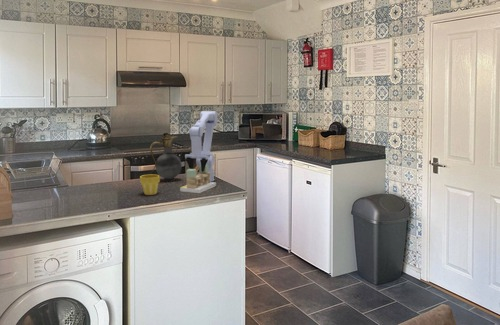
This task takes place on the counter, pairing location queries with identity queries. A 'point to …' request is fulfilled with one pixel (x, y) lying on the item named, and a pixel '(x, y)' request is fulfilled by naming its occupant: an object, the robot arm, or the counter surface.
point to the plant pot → (150, 183)
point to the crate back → (205, 169)
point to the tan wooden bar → (198, 180)
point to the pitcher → (167, 159)
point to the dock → (199, 189)
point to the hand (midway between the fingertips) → (197, 170)
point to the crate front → (191, 173)
